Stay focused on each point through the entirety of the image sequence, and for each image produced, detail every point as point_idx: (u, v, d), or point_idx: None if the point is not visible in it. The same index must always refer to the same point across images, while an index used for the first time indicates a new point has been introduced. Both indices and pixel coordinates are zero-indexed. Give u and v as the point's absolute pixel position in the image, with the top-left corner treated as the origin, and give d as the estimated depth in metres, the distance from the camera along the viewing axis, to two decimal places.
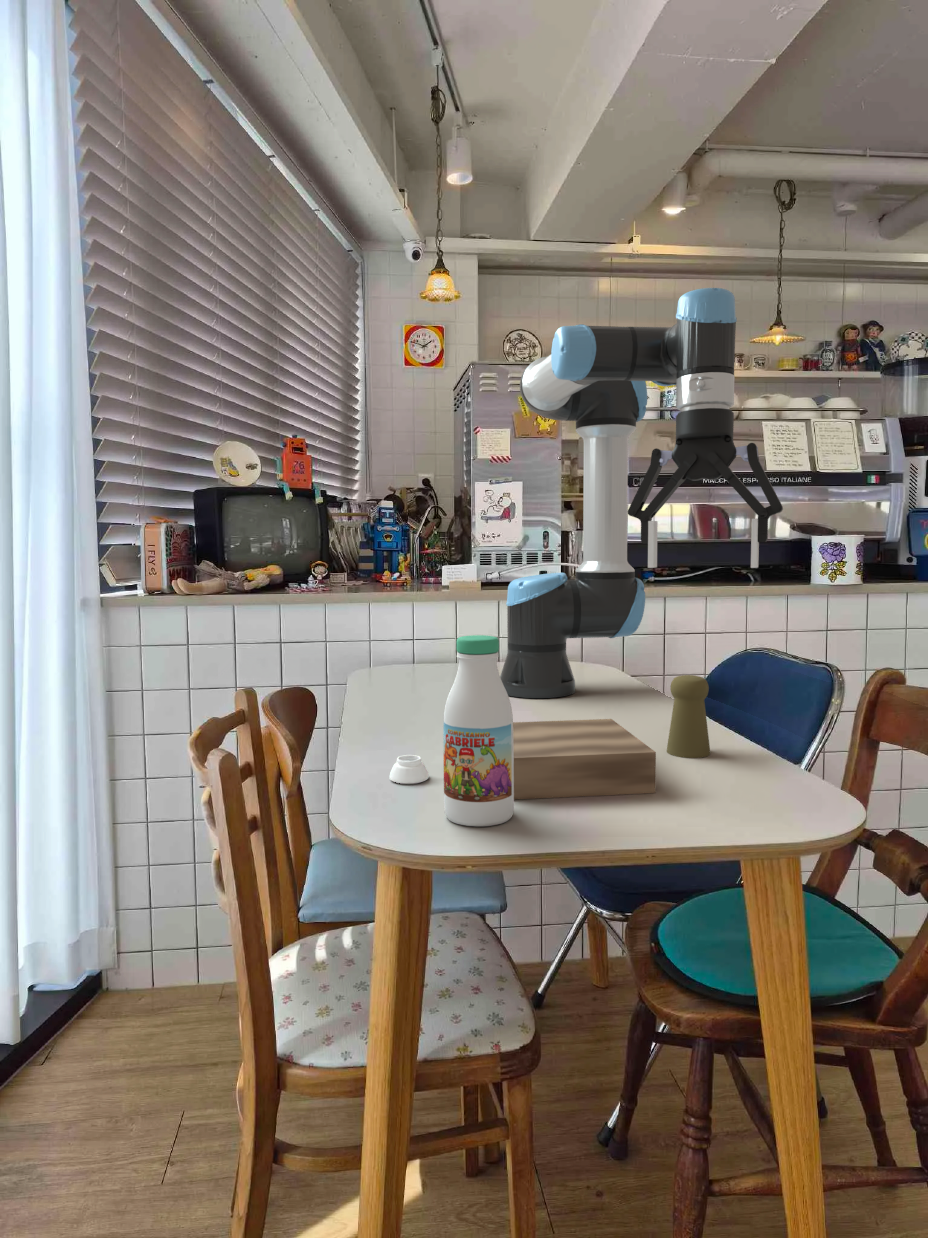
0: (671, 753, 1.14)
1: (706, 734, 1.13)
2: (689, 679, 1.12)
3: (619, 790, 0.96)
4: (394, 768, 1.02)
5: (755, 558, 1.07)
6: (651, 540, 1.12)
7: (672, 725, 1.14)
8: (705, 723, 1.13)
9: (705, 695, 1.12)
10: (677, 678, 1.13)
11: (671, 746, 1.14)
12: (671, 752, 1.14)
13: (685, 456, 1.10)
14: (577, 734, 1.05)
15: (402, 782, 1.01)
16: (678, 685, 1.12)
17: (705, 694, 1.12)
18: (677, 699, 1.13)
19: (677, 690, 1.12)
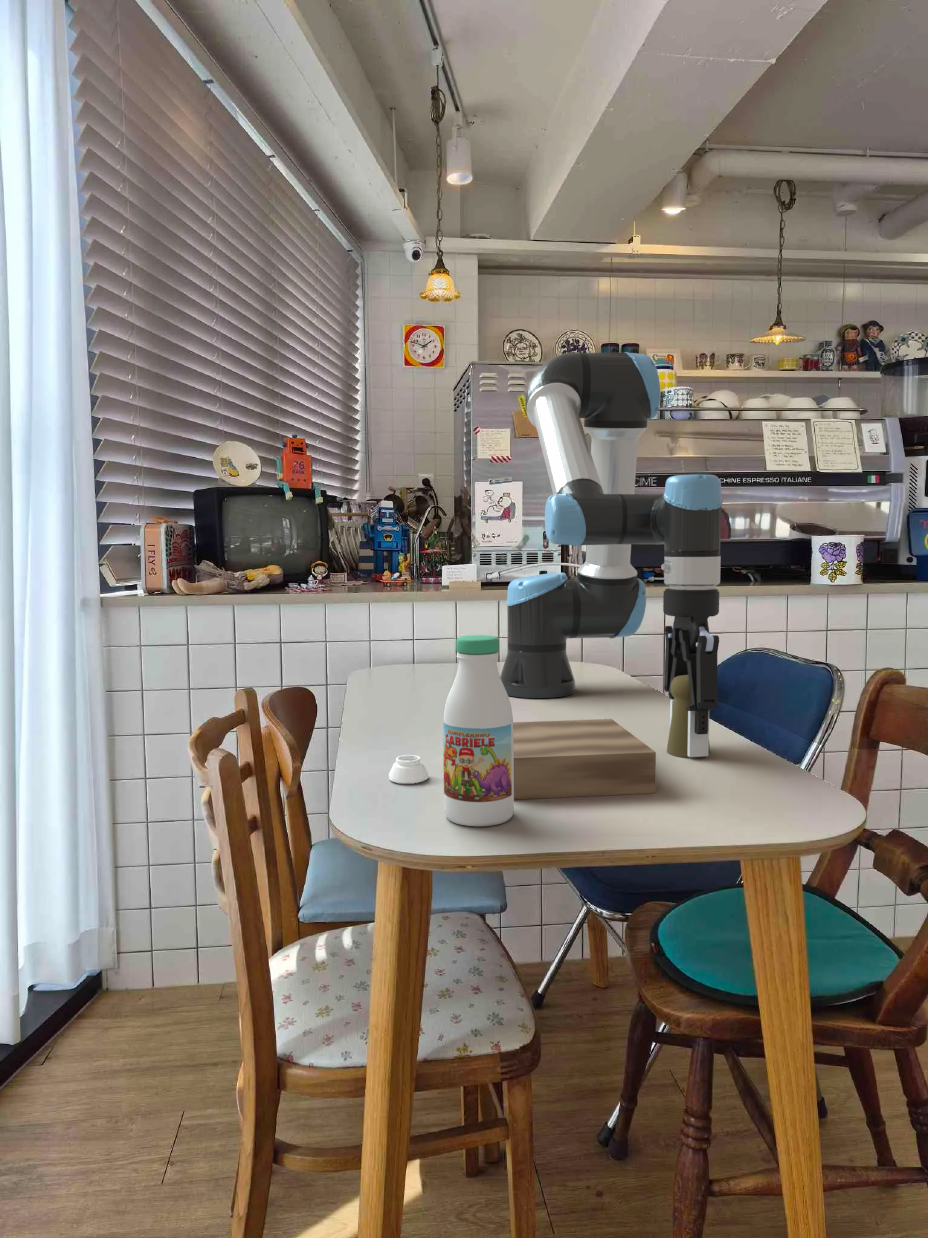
0: (671, 753, 1.14)
1: None
2: None
3: (619, 790, 0.96)
4: (393, 768, 1.02)
5: (689, 747, 1.11)
6: None
7: (672, 725, 1.14)
8: None
9: None
10: (677, 678, 1.13)
11: (671, 746, 1.14)
12: (671, 752, 1.14)
13: (677, 627, 1.15)
14: (577, 734, 1.05)
15: (401, 782, 1.01)
16: (679, 684, 1.12)
17: None
18: (677, 699, 1.13)
19: (677, 690, 1.12)
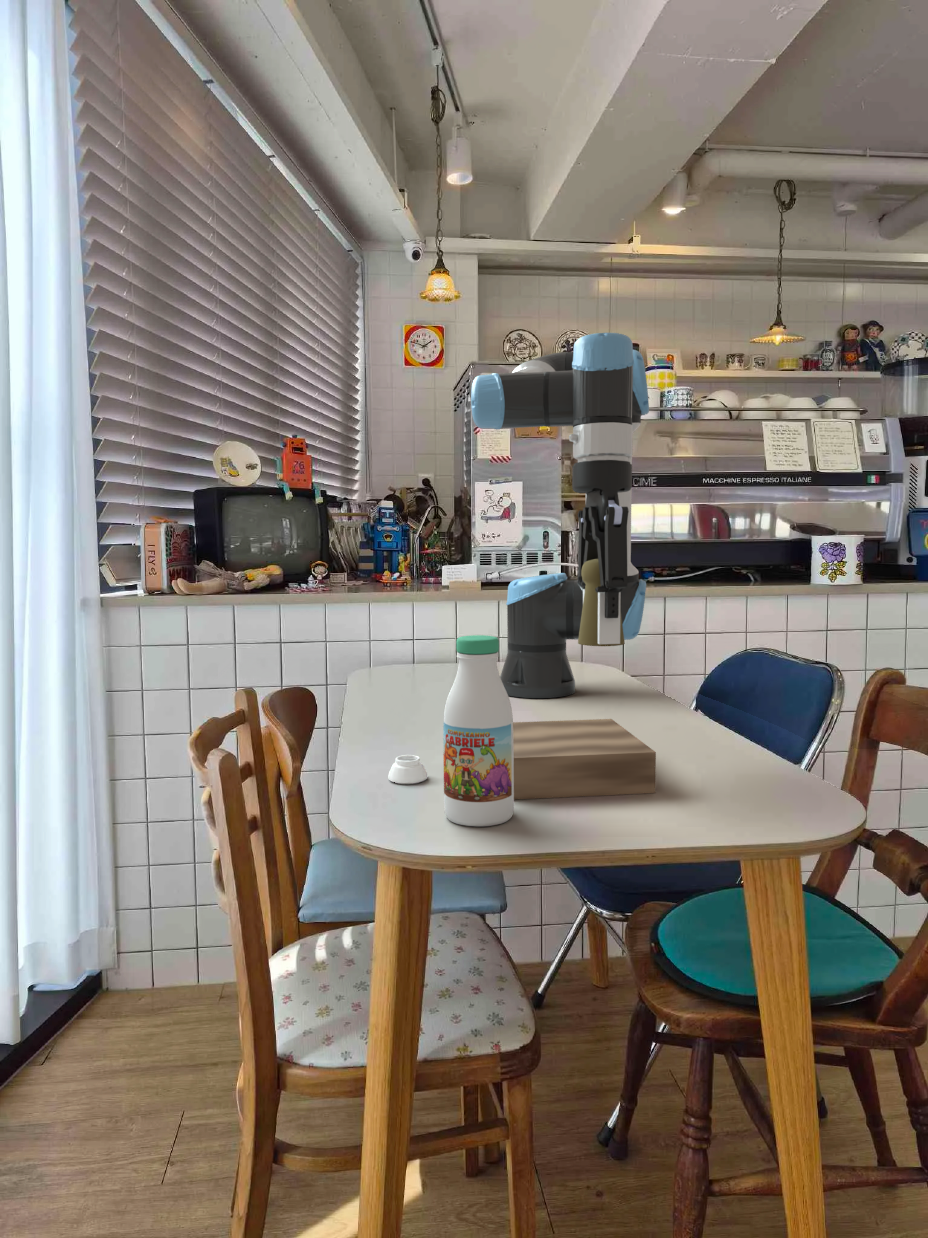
0: (582, 643, 1.04)
1: None
2: None
3: (619, 790, 0.96)
4: (393, 768, 1.02)
5: (599, 634, 1.02)
6: None
7: (583, 613, 1.05)
8: None
9: None
10: (588, 561, 1.04)
11: (582, 635, 1.04)
12: (582, 642, 1.04)
13: (588, 507, 1.06)
14: (577, 734, 1.05)
15: (401, 782, 1.01)
16: (589, 567, 1.03)
17: None
18: (588, 584, 1.04)
19: (588, 573, 1.03)
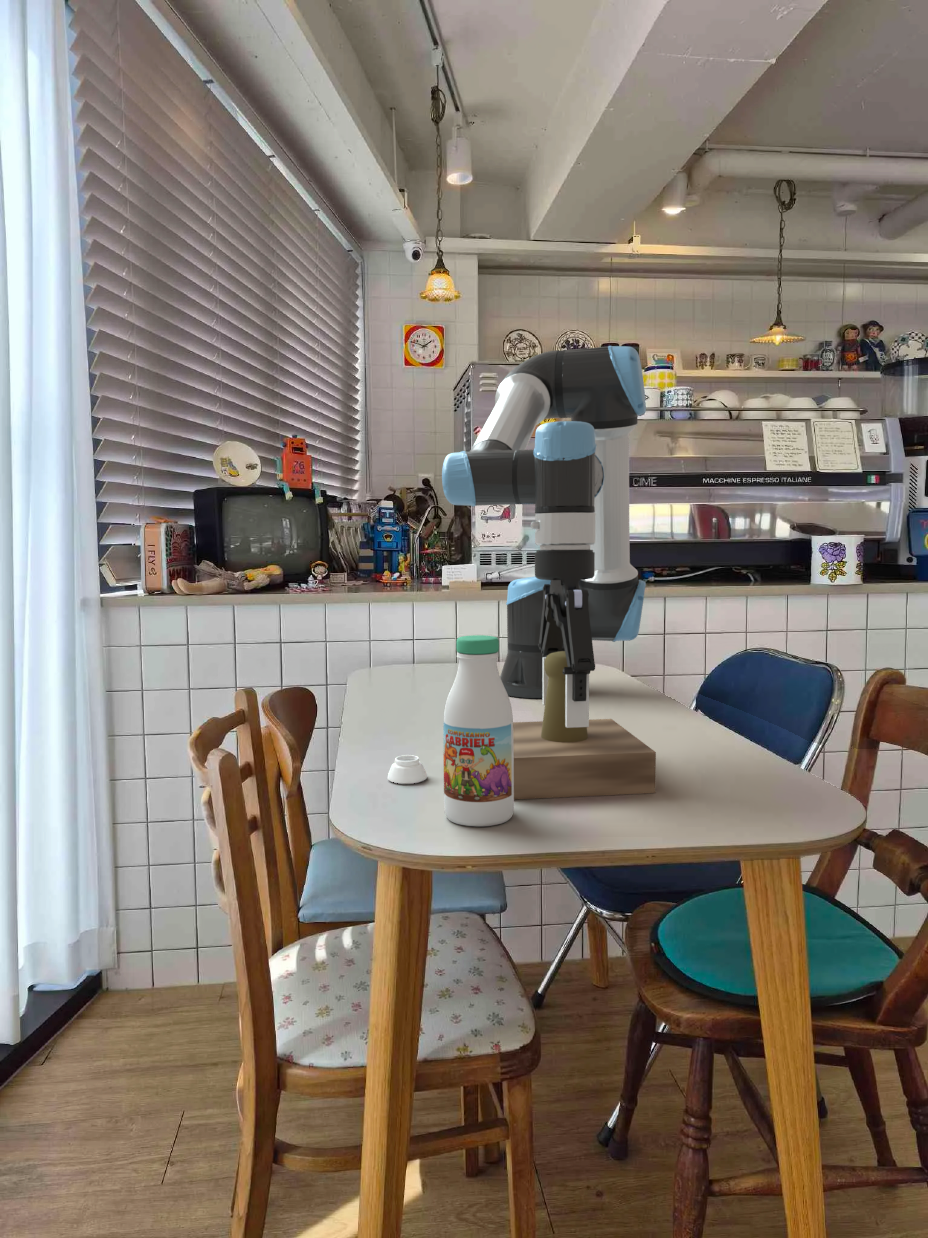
0: (544, 737, 1.03)
1: None
2: (562, 655, 1.01)
3: (619, 790, 0.96)
4: (392, 768, 1.02)
5: (566, 717, 0.97)
6: (543, 677, 1.10)
7: (545, 706, 1.03)
8: None
9: None
10: (550, 654, 1.03)
11: (544, 729, 1.03)
12: (544, 736, 1.03)
13: None
14: None
15: (400, 782, 1.01)
16: (550, 661, 1.02)
17: None
18: (550, 678, 1.03)
19: (549, 668, 1.02)
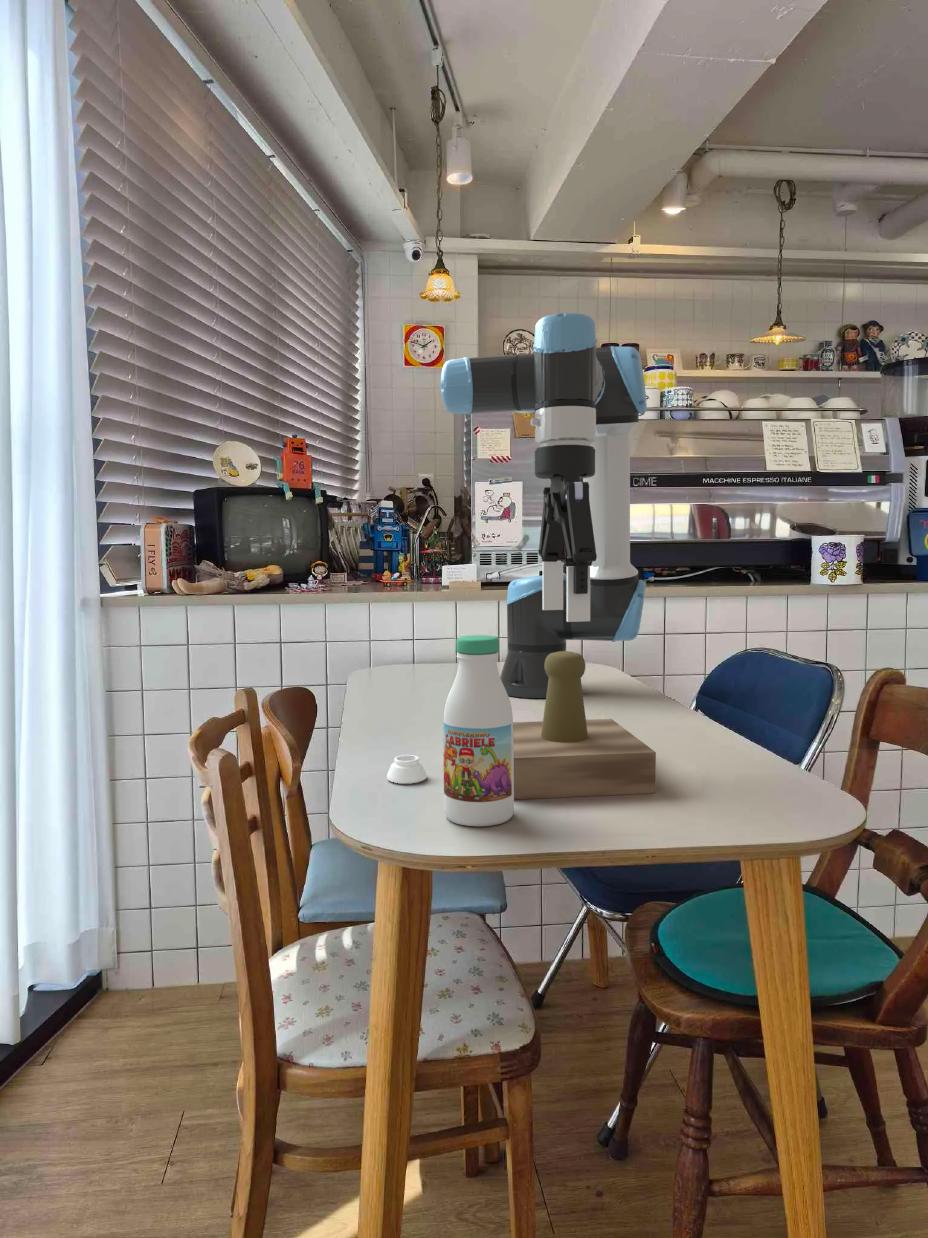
0: (544, 737, 1.03)
1: (582, 716, 1.02)
2: (562, 655, 1.01)
3: (619, 790, 0.96)
4: (392, 768, 1.02)
5: (567, 611, 0.96)
6: (543, 582, 1.09)
7: (546, 706, 1.03)
8: (581, 704, 1.02)
9: (580, 673, 1.02)
10: (551, 654, 1.03)
11: (544, 729, 1.03)
12: (544, 736, 1.03)
13: None
14: None
15: (400, 782, 1.01)
16: (551, 661, 1.02)
17: (580, 672, 1.02)
18: (550, 678, 1.03)
19: (550, 668, 1.02)
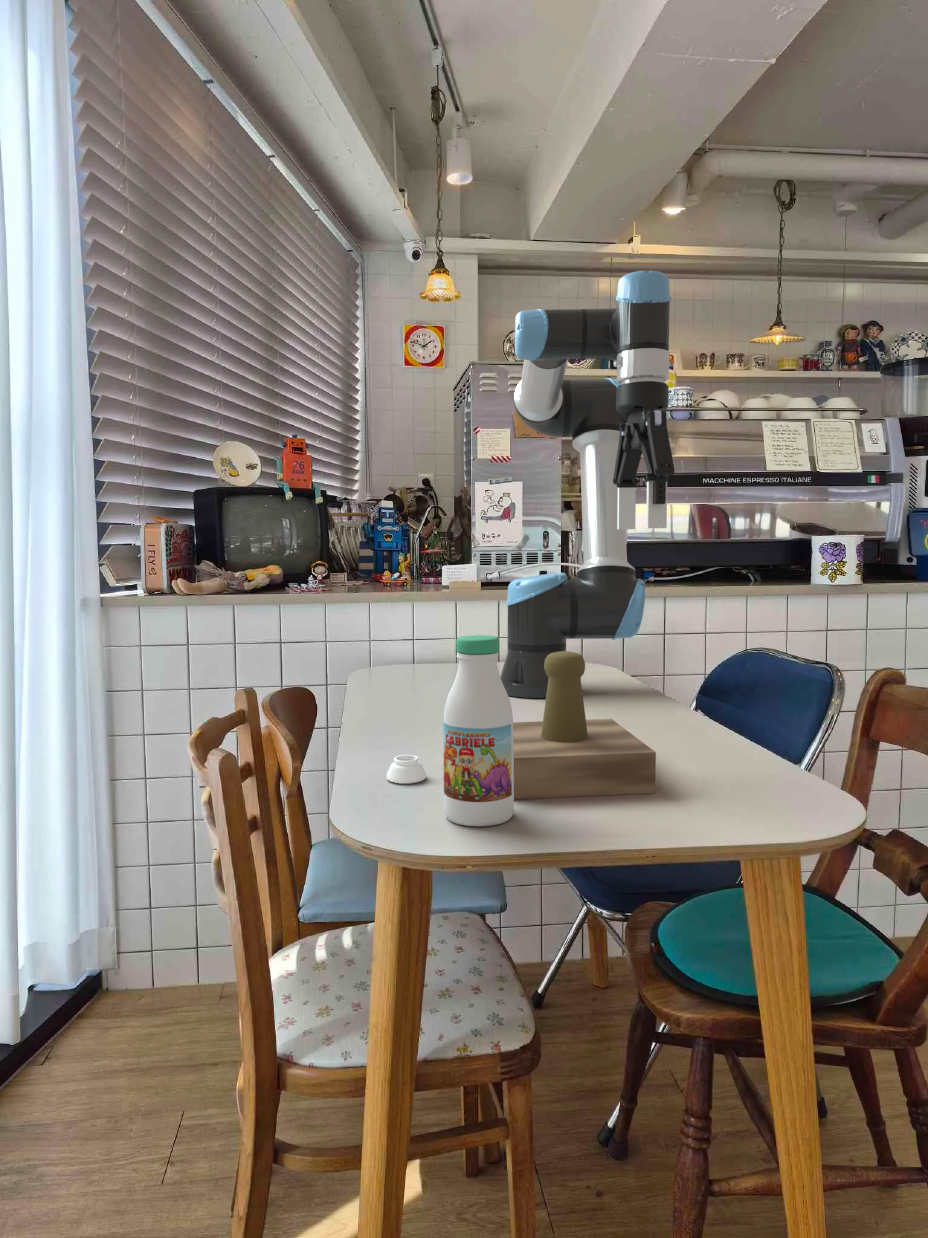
0: (544, 737, 1.03)
1: (582, 716, 1.02)
2: (562, 655, 1.01)
3: (619, 790, 0.96)
4: (391, 768, 1.02)
5: (647, 519, 1.14)
6: (618, 505, 1.27)
7: (546, 706, 1.03)
8: (581, 704, 1.02)
9: (580, 673, 1.02)
10: (550, 654, 1.03)
11: (544, 729, 1.03)
12: (544, 736, 1.03)
13: None
14: None
15: (399, 782, 1.01)
16: (551, 661, 1.02)
17: (580, 672, 1.02)
18: (550, 678, 1.03)
19: (550, 668, 1.02)
